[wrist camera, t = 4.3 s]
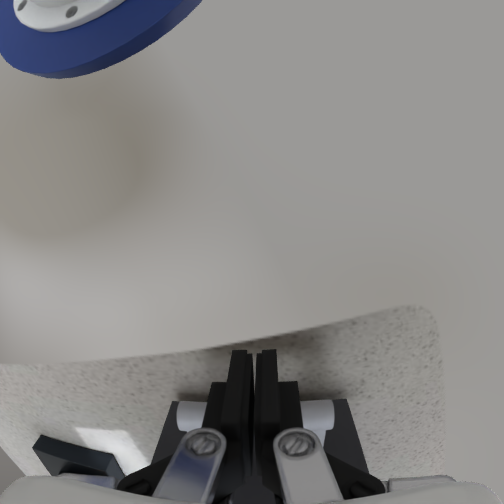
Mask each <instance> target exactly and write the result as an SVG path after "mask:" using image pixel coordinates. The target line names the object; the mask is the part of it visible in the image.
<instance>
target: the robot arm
mask: <svg viewBox="0 0 504 504" xmlns="http://www.w3.org/2000/svg"><path fill="white" fill-rule="evenodd" d="M124 1H125V0H14V11H15V14H16V17H17V18H18V19H19V20H20V22H21V23H23V24H24V25H26V26H28V27H30V28H32V29H35V30H37V31H40V32H57V31H64V30H68V29H71V28H74V27H77V26H80V25H83V24H85V23H87V22H89V21H91V20H94V19H96V18H98V17H100V16H101V15H103V14H105V13H106V12H108V11H110V10H112V9H113V8H115V7H117V6H118V5H119V4H121V3H122V2H124ZM254 439H255V455H256V471H257V476H262V484H263V486H265V487H266V488H267V489H269V490H270V491H272V492H273V499H274V504H503V503H502V501H501V500H500V499H499V497H498V496H497V495H496V494H495V493H494V492H493V491H492V490H491V489H490V488H489V487H487V486H485V485H483V484H479V483H474V482H457V481H455V480H454V479H453V478H452V477H450V476H447V475H435V476H425V477H411V478H389V480H388V481H380V480H379V479H377V478H376V477H374V476H372V475H370V474H368V473H366V472H364V471H361V470H359V469H357V468H355V467H353V466H351V465H349V464H347V463H345V462H344V461H342V460H340V459H338V458H336V457H334V456H332V455H330V454H328V453H326V452H325V451H324V449H323V447H322V444H321V441H320V439H319V437H318V436H317V435H316V434H315V433H314V432H313V431H311V430H308V429H306V428H304V427H303V419H302V411H301V404H300V396H299V389H298V383H297V381H289V382H278V371H277V354H276V349H270V350H262V353H257V357H256V380H255V395H254V375H253V356H252V354H247V350H232V355H231V361H230V367H229V373H228V379H227V382H212V384H211V388H210V392H209V396H208V401H207V405H206V409H205V414H204V418H203V422H202V427H201V428H197V429H194V430H191V431H189V432H188V433H186V434H185V435H184V436H183V438H182V439H181V441H180V443H179V445H178V447H177V449H176V451H175V453H174V454H172V455H170V456H168V457H166V458H164V459H162V460H160V461H158V462H156V463H154V464H151V465H149V466H147V467H145V468H143V469H141V470H138V471H136V472H134V473H132V474H129V475H128V476H126V477H124V478H123V479H117V478H116V477H113V476H94V475H81V474H71V473H63V474H60V475H58V476H56V477H55V476H37V475H35V476H26V477H22V478H19V479H17V480H16V481H14V482H13V483H12V484H10V485H9V486H8V487H7V488H6V489H5V491H4V492H3V493H2V494H1V496H0V504H232V502H233V499H234V494H235V490H237V489H238V488H240V487H241V486H243V485H244V484H246V476H252V468H253V447H254Z"/></svg>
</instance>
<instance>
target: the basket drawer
mask: <svg viewBox="0 0 504 504" xmlns="http://www.w3.org/2000/svg"><path fill="white" fill-rule="evenodd" d="M300 404H301V411H302V419H303V427H304V428H306V429H308V430H311V431H313V432H314V433H315V434H316V435H317V436H318V437H319V439H320V441H321V444H322V447H323V449H324V451H325V452H326V453H328V454H330V455H332V456H334V457H336V458H338V459H340V460H342V461H344V462H345V463H347V464H349V465H351V466H353V467H355V468H357V469H359V470H361V471H364V472H366V473H368V474H369V471H368V468H367V464H366V461H365V457H364V454H363V451H362V447H361V444H360V441H359V437H358V434H357V431H356V427H355V424H354V421H353V418H352V415H351V411H350V408H349V405H348V402H347V399H336V400H331V399H325V400H313V401H300ZM206 405H207V402H192V401H180V402H177V401H172V404H171V407H170V410H169V413H168V415H167V418H166V421H165V424H164V427H163V430H162V433H161V436H160V438H159V441H158V444H157V447H156V450H155V453H154V456H153V459H152V462H151V464H154V463H156V462H158V461H160V460H162V459H164V458H166V457H168V456H170V455H172V454H174V453H175V451H176V449H177V447H178V445H179V443H180V441H181V439H182V438H183V436H184V435H185V434H186V433H188V432H189V431H191V430H194V429H197V428H201V427H202V422H203V418H204V414H205V409H206ZM232 504H274V499H273V492H272V491H270V490H269V489H267V488H266V487H265V486H263V484H262V476H257V471H256V455H255V439H254V447H253V468H252V476H246V484H244V485H243V486H241V487H240V488H238V489H237V490H235V494H234V499H233V502H232Z"/></svg>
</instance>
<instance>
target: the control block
mask: <svg viewBox="0 0 504 504" xmlns="http://www.w3.org/2000/svg"><path fill="white" fill-rule="evenodd" d="M32 448H33V450H34V451H35V453H36V454H37V456H38V457H39V459H40V460H41V462H42V463H43V465H44V466H45V467H46V469H47V470H48V471H49V473H50V474H51V476H55V477H56V476H58V475H60V474H63V473H71V474H81V475H94V476H113V477H116V478H117V479H123V478H124V477H125V476H124V474H123V473H122V471H121V469H120V467H119V465H118V464H117V462H116V460H115V458H114V456H113V455H112V454H107V453H103V452H98V451H94V450H90V449H86V448H83V447H79V446H75V445H72V444H68V443H65V442H61V441H58V440H55V439H52V438H49V437H46V436H43V435H41V436H40V437H39V438H38V440H37V441H36V443H35V444H34V446H33V447H32Z"/></svg>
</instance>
